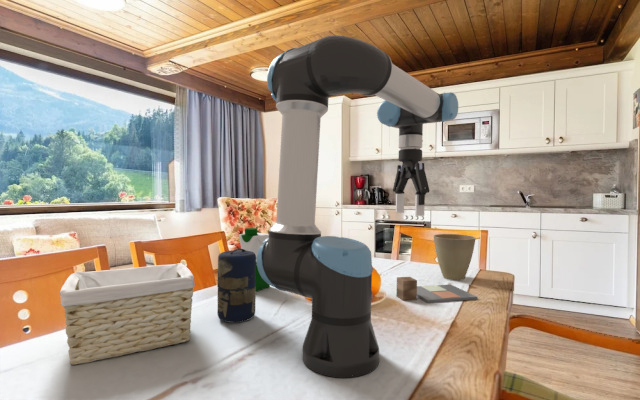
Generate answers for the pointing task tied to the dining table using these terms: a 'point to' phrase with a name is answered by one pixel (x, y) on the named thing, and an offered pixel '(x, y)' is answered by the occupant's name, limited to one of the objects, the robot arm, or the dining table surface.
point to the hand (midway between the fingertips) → (409, 214)
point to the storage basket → (126, 310)
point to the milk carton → (254, 250)
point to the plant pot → (454, 254)
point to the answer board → (443, 293)
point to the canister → (236, 285)
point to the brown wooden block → (406, 288)
